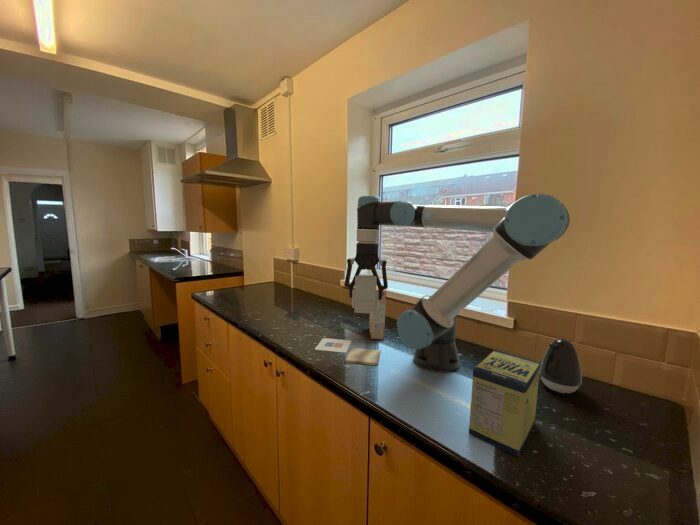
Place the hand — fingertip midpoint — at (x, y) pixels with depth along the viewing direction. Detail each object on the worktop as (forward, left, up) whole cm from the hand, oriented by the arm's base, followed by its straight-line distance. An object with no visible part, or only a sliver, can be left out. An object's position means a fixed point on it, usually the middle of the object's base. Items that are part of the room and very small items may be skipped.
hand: (365, 307), depth 105 cm
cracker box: (-2, -25, -18) cm, 31 cm away
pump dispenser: (-59, +8, -18) cm, 62 cm away
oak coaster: (0, 0, -18) cm, 18 cm away
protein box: (-37, +31, -18) cm, 52 cm away
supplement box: (0, 0, -1) cm, 1 cm away
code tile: (+13, -8, -18) cm, 24 cm away
